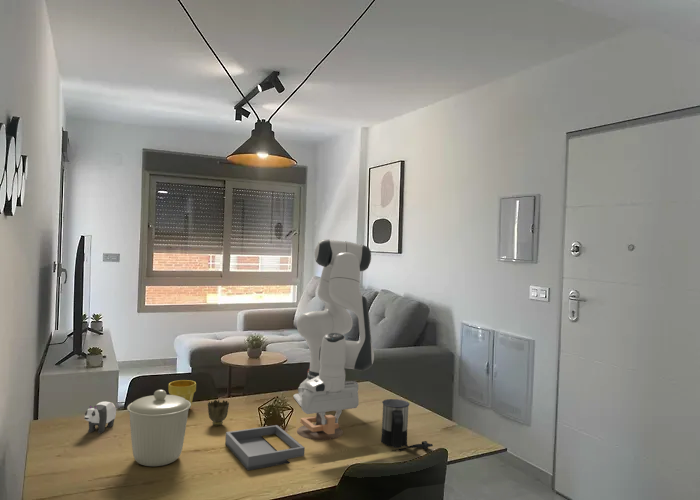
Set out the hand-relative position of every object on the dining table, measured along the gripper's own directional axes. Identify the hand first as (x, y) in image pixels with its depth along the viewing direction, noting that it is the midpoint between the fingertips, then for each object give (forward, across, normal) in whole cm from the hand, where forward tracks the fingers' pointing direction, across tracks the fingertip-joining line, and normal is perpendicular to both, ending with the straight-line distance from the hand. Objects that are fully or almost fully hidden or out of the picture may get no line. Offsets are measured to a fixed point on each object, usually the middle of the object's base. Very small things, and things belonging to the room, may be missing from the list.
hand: (329, 423), depth 183 cm
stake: (+7, 0, -7) cm, 10 cm away
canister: (+7, +54, -8) cm, 55 cm away
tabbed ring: (+3, 0, -5) cm, 6 cm away
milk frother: (+7, -22, +14) cm, 27 cm away
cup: (+7, +29, -31) cm, 43 cm away
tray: (+7, +23, -1) cm, 24 cm away
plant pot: (+7, +36, -55) cm, 66 cm away
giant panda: (+7, +67, -41) cm, 79 cm away
